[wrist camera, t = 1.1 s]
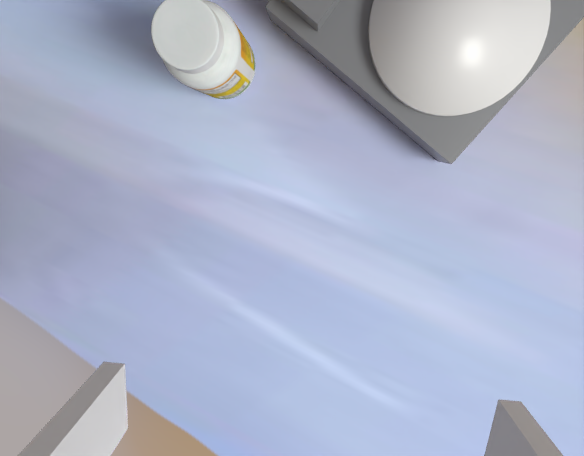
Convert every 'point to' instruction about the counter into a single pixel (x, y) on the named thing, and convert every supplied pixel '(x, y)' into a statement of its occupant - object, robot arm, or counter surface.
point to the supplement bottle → (203, 47)
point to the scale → (431, 56)
